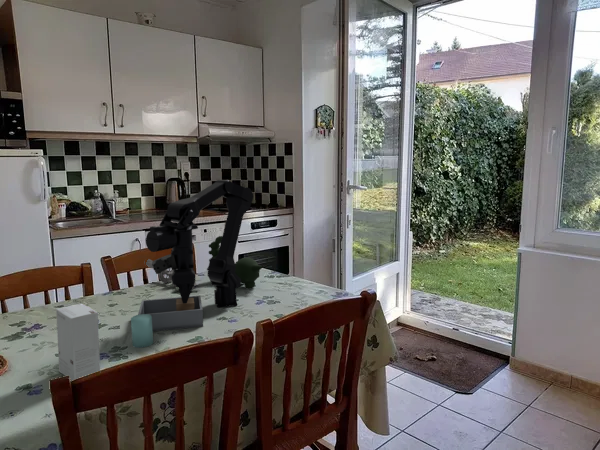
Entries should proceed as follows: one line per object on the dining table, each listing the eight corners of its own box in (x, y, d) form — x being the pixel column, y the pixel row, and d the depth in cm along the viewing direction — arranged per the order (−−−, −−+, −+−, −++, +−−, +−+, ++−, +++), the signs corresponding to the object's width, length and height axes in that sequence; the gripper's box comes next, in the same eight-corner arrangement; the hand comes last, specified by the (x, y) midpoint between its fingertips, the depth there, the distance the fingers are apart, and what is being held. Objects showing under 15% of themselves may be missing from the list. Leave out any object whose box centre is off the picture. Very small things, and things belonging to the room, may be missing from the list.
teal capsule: (153, 338, 114) (152, 313, 113) (152, 346, 109) (151, 320, 108) (133, 340, 113) (131, 315, 112) (131, 348, 108) (129, 322, 107)
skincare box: (58, 372, 96) (52, 308, 94) (86, 362, 101) (81, 301, 98) (74, 385, 91) (69, 317, 88) (103, 374, 95) (98, 309, 93)
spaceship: (156, 253, 180) (139, 249, 174) (206, 277, 157) (189, 273, 151) (149, 272, 179) (132, 268, 173) (199, 298, 157) (181, 295, 151)
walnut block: (194, 313, 130) (193, 297, 130) (194, 319, 126) (194, 302, 125) (177, 315, 129) (176, 299, 128) (177, 321, 124) (176, 304, 123)
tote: (200, 310, 135) (200, 295, 134) (203, 326, 122) (202, 309, 122) (142, 316, 130) (141, 300, 130) (138, 333, 118) (137, 315, 117)
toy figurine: (206, 287, 165) (255, 293, 150) (201, 237, 163) (250, 238, 148) (224, 281, 173) (272, 287, 158) (219, 234, 171) (268, 234, 156)
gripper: (154, 241, 131) (157, 291, 133) (150, 254, 113) (153, 311, 115) (192, 239, 134) (194, 288, 136) (194, 252, 116) (196, 307, 118)
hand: (184, 298), depth 126 cm, fingers open, 9 cm apart
